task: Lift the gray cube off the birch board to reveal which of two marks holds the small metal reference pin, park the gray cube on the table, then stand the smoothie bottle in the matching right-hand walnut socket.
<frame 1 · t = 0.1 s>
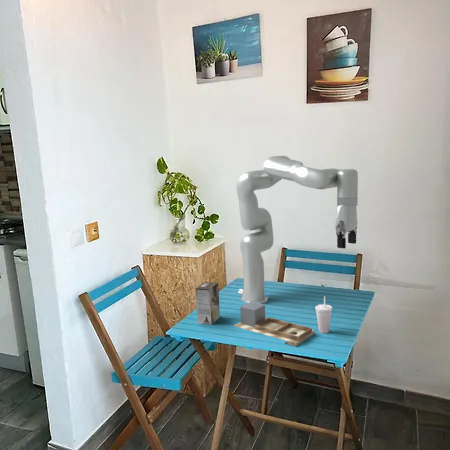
hand: (346, 245, 171), 31 cm above the table, fingers open, 9 cm apart
board: (273, 330, 170), on the table
smoothie: (323, 331, 168), on the table
coffee box: (209, 323, 180), on the table
gray cube: (253, 322, 175), point 1 cm above the table, touching board
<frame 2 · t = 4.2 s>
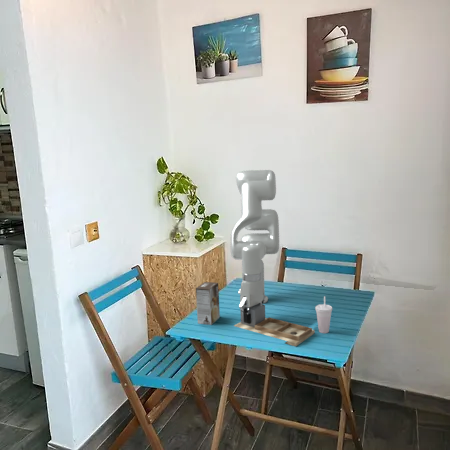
hand: (253, 319, 175), 3 cm above the table, fingers closed on gray cube, 7 cm apart
gray cube: (253, 322, 175), point 1 cm above the table, touching board, gripper
everything else where it was.
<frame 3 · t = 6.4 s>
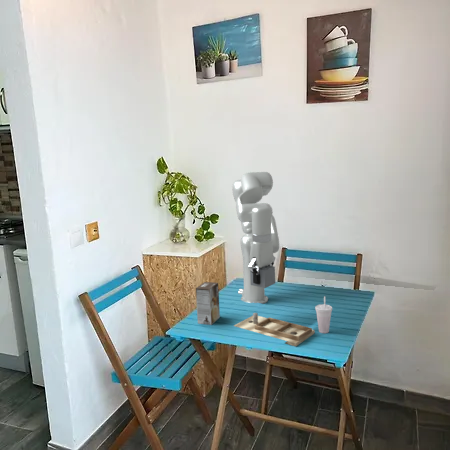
hand: (262, 280, 176), 17 cm above the table, fingers closed on gray cube, 7 cm apart
gray cube: (263, 284, 176), point 16 cm above the table, touching gripper
everything else where it was.
when the fingers open (3 cm above the table, at t = 9.0 s): gray cube drops 1 cm, on the table.
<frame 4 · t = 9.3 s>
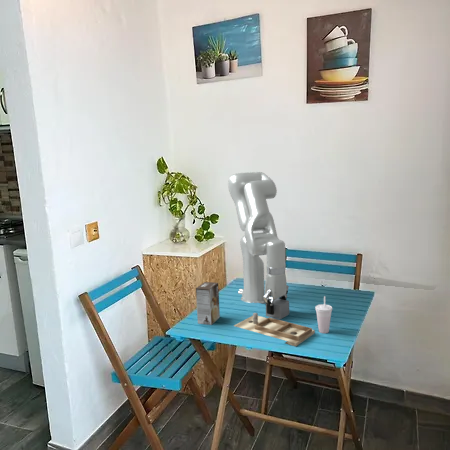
hand: (276, 310, 182), 3 cm above the table, fingers open, 9 cm apart
gray cube: (277, 317, 183), on the table
everything else where it was.
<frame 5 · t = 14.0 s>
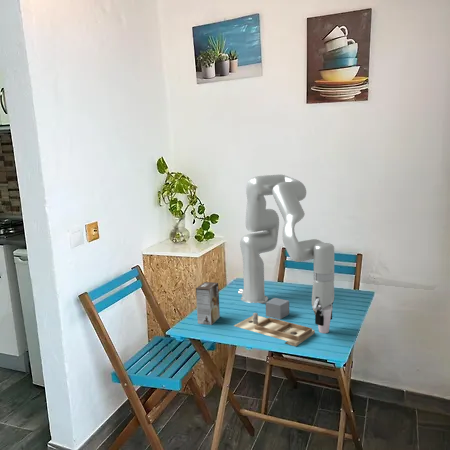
hand: (323, 321, 167), 4 cm above the table, fingers closed on smoothie, 6 cm apart
smoothie: (323, 331, 168), on the table, touching gripper
everything else where it was.
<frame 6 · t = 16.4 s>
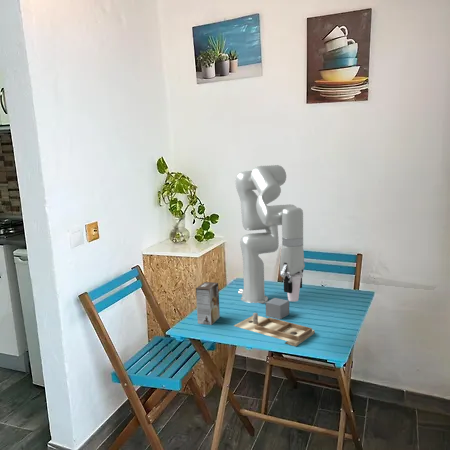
hand: (293, 289, 161), 18 cm above the table, fingers closed on smoothie, 6 cm apart
smoothie: (293, 300, 162), point 14 cm above the table, touching gripper
everything else where it was.
when the fingers open (7 cm above the table, at t = 18.9 s): smoothie drops 1 cm, resting on board.
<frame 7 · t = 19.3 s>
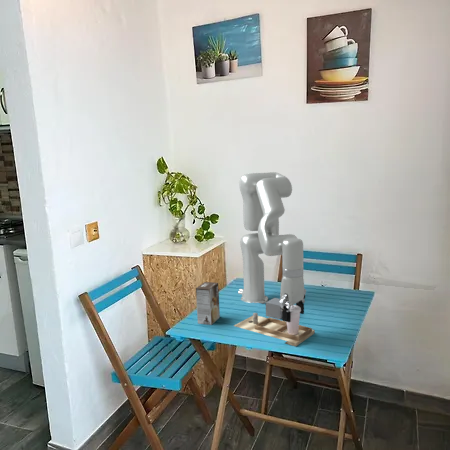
hand: (293, 317, 163), 8 cm above the table, fingers open, 9 cm apart
smoothie: (293, 333, 164), point 1 cm above the table, touching board
everything else where it was.
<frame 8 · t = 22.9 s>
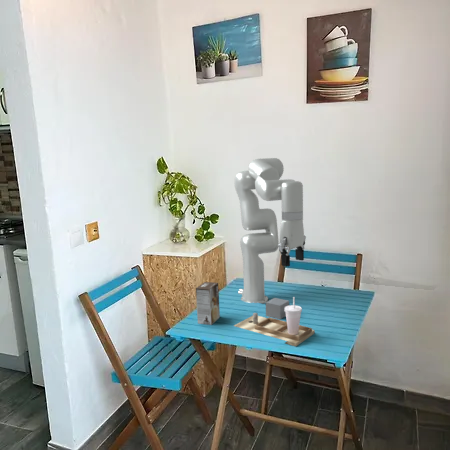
hand: (292, 262, 159), 28 cm above the table, fingers open, 9 cm apart
nothing on the table moved.
at the end: smoothie 0.1 cm from the target spot, point 1.2 cm above the table; smoothie tilted 0°; gray cube moved 12.9 cm from its start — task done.
